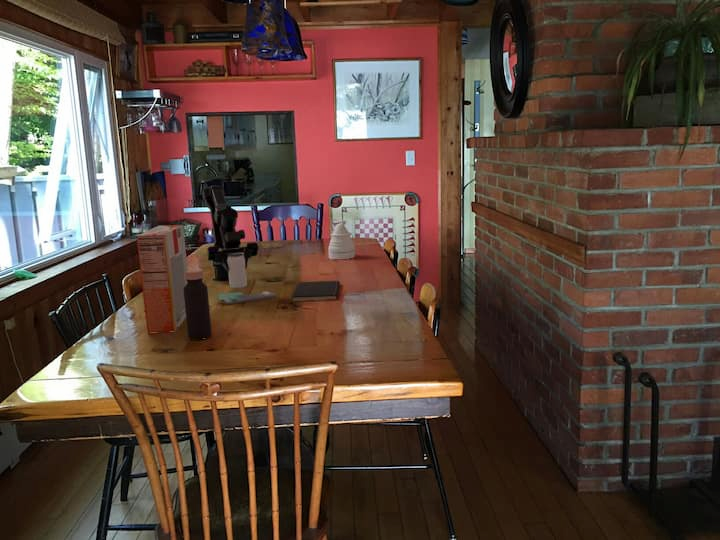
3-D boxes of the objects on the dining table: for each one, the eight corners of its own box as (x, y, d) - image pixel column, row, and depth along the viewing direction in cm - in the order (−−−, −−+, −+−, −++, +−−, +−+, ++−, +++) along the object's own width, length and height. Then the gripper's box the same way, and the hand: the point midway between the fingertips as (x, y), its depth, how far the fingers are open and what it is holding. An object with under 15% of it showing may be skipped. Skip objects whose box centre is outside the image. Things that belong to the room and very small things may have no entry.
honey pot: (360, 256, 296) (358, 219, 292) (345, 260, 285) (343, 223, 281) (338, 254, 303) (336, 218, 299) (323, 258, 292) (321, 222, 288)
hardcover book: (292, 302, 214) (291, 296, 214) (299, 287, 237) (299, 282, 236) (336, 301, 214) (336, 295, 213) (340, 286, 236) (339, 280, 236)
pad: (217, 295, 227) (217, 294, 227) (241, 292, 229) (241, 292, 229) (219, 300, 218) (219, 300, 218) (244, 298, 221) (244, 297, 221)
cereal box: (168, 313, 205) (158, 225, 199) (191, 311, 205) (183, 224, 199) (147, 333, 183) (136, 236, 176) (174, 332, 183) (164, 234, 177)
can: (251, 285, 225) (248, 254, 222) (237, 289, 220) (234, 257, 217) (239, 283, 229) (236, 252, 226) (226, 287, 224) (222, 256, 221)
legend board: (227, 304, 213) (227, 300, 213) (223, 300, 218) (223, 297, 218) (276, 297, 221) (275, 293, 221) (271, 293, 226) (270, 290, 226)
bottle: (190, 342, 173) (183, 274, 169) (186, 335, 179) (180, 270, 175) (213, 338, 175) (207, 271, 171) (209, 332, 182) (203, 267, 177)
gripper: (205, 225, 219) (212, 259, 212) (255, 220, 226) (264, 254, 219) (204, 243, 228) (211, 277, 221) (252, 238, 235) (261, 271, 228)
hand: (237, 269), depth 222 cm, fingers closed on can, 6 cm apart
